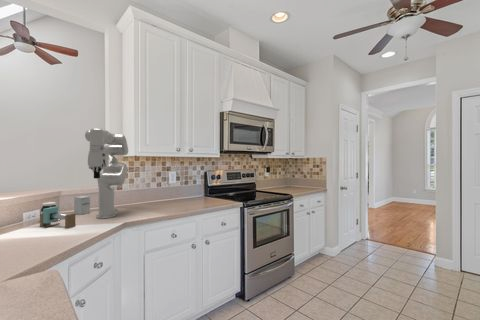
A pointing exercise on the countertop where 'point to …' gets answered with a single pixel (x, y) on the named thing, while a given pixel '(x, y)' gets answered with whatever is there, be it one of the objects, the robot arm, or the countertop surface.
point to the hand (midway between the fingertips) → (96, 178)
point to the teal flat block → (47, 214)
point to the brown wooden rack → (68, 218)
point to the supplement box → (82, 205)
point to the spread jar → (48, 205)
